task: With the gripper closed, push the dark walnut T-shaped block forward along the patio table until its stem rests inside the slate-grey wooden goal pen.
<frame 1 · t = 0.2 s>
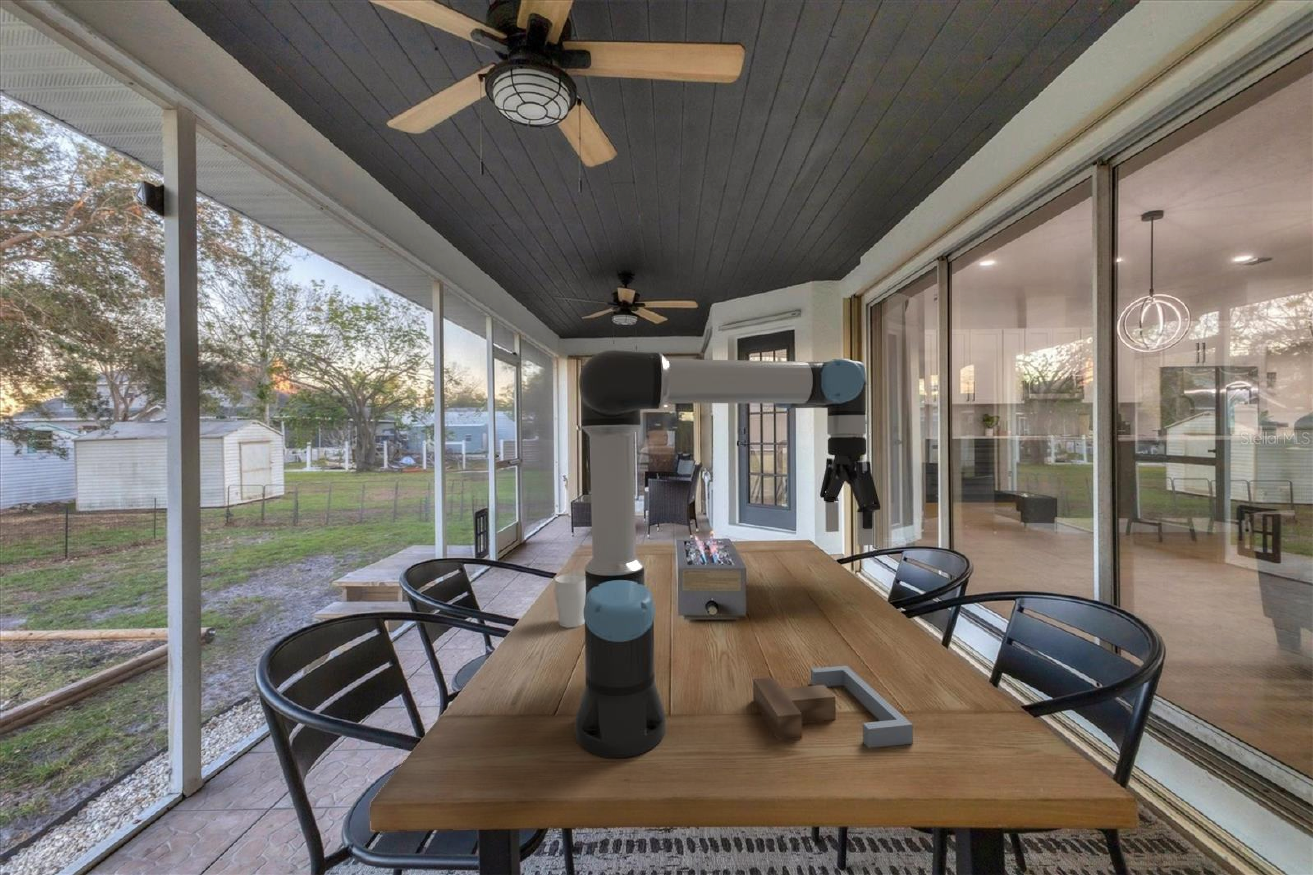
hand: (847, 537, 101), 28 cm above the table, fingers open, 13 cm apart
cup: (572, 624, 128), on the table
goal pen: (871, 708, 87), on the table
walnut T: (776, 718, 84), on the table
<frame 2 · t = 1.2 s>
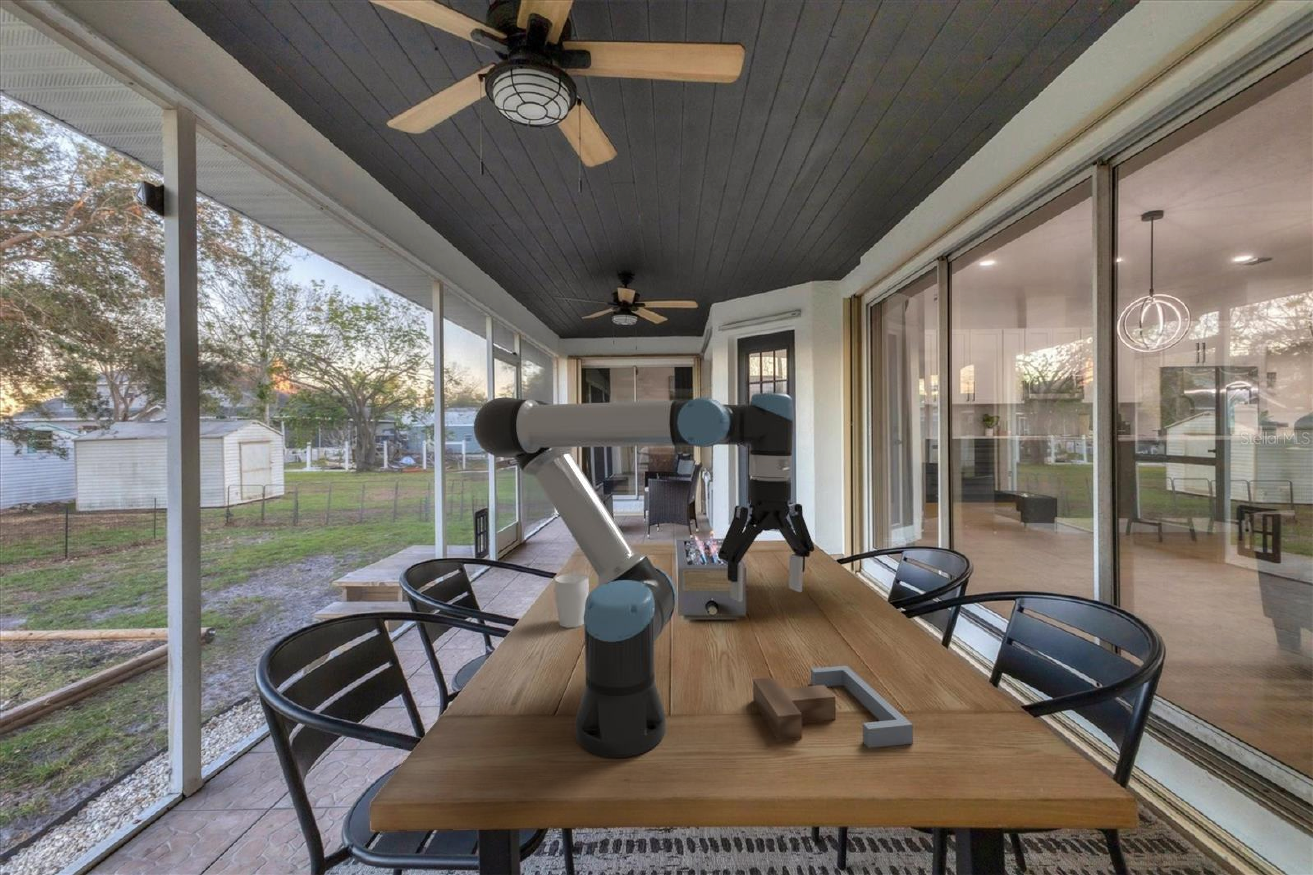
hand: (766, 594, 88), 20 cm above the table, fingers open, 13 cm apart
nothing on the table moved.
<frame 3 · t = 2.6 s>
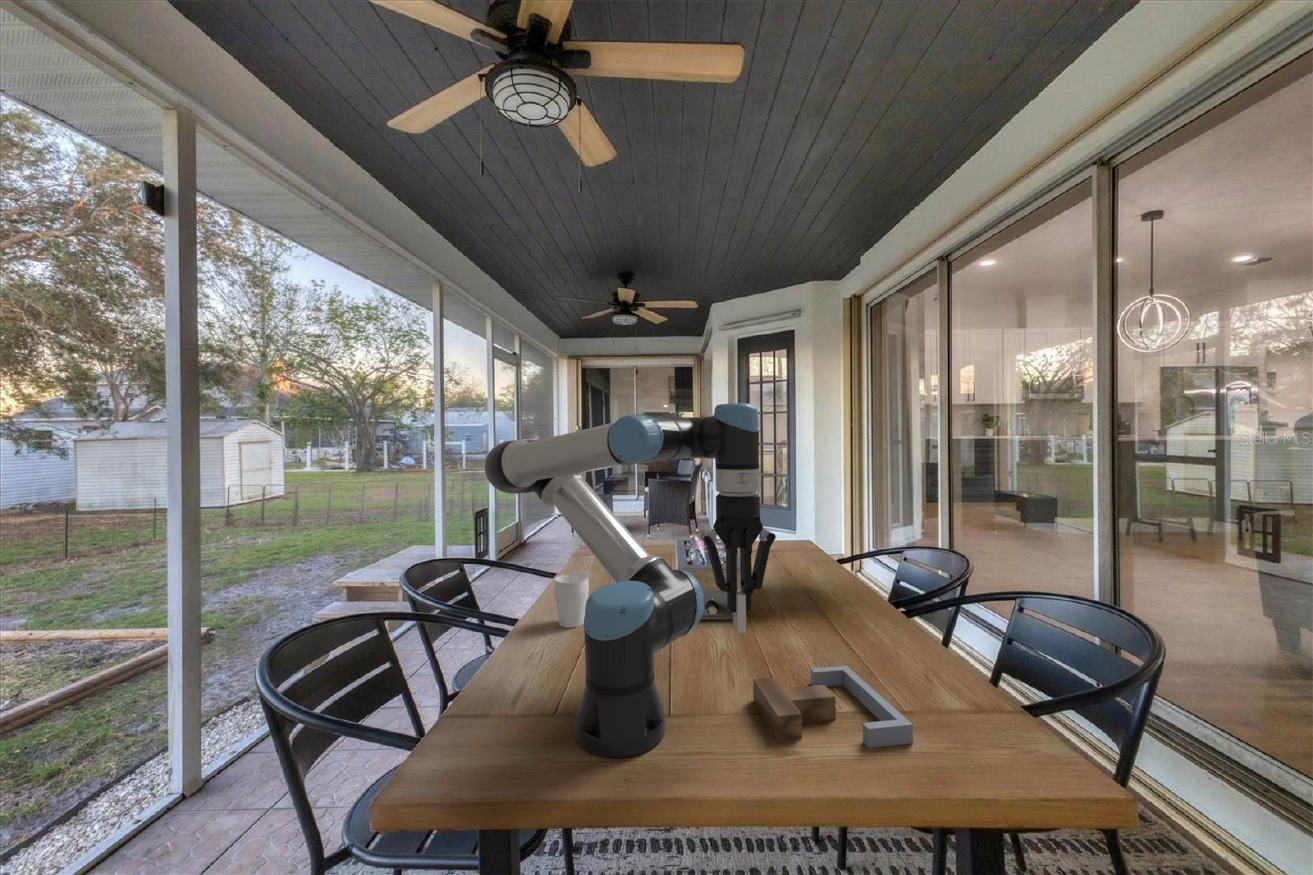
hand: (739, 630, 83), 16 cm above the table, fingers closed
nothing on the table moved.
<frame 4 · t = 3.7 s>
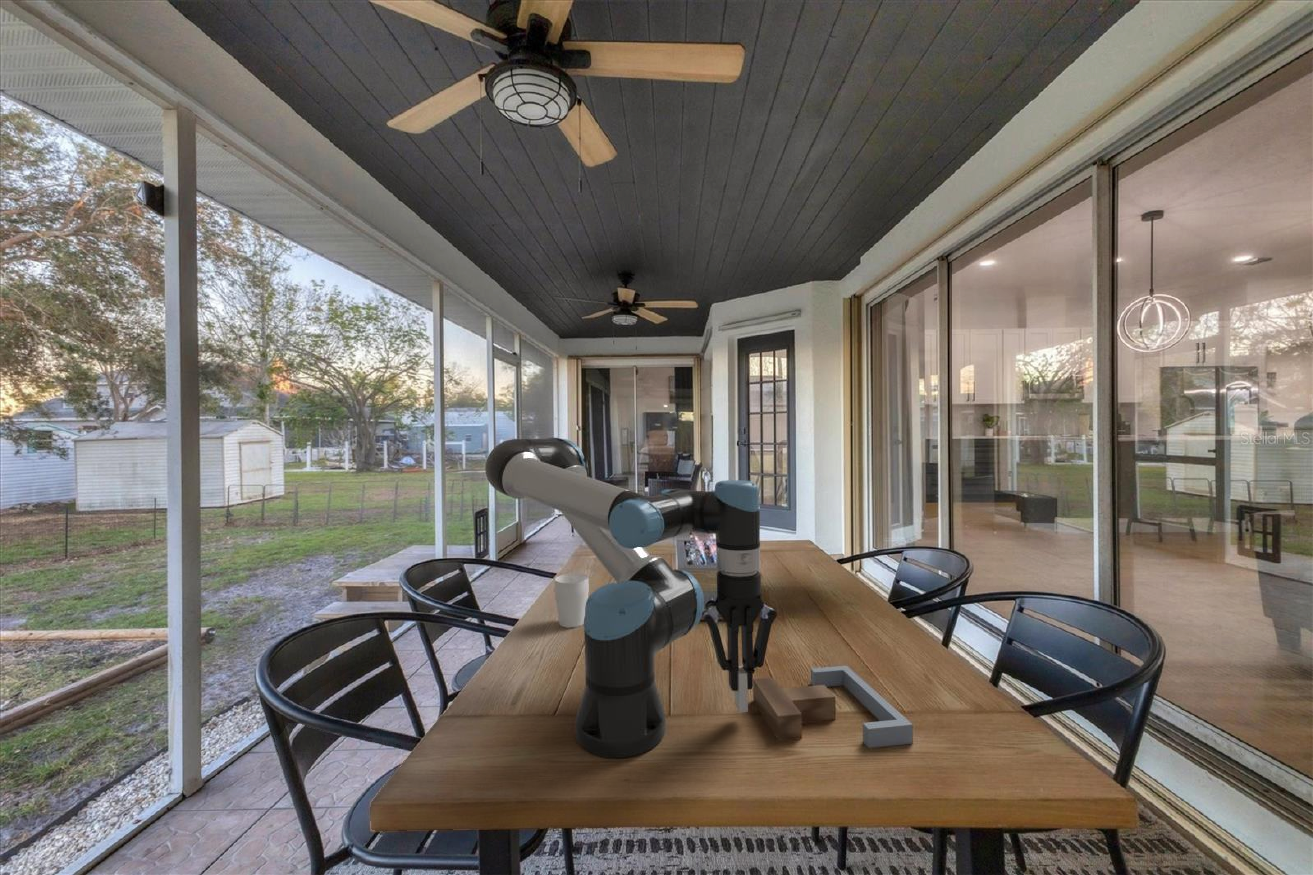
hand: (741, 707, 83), 2 cm above the table, fingers closed
nothing on the table moved.
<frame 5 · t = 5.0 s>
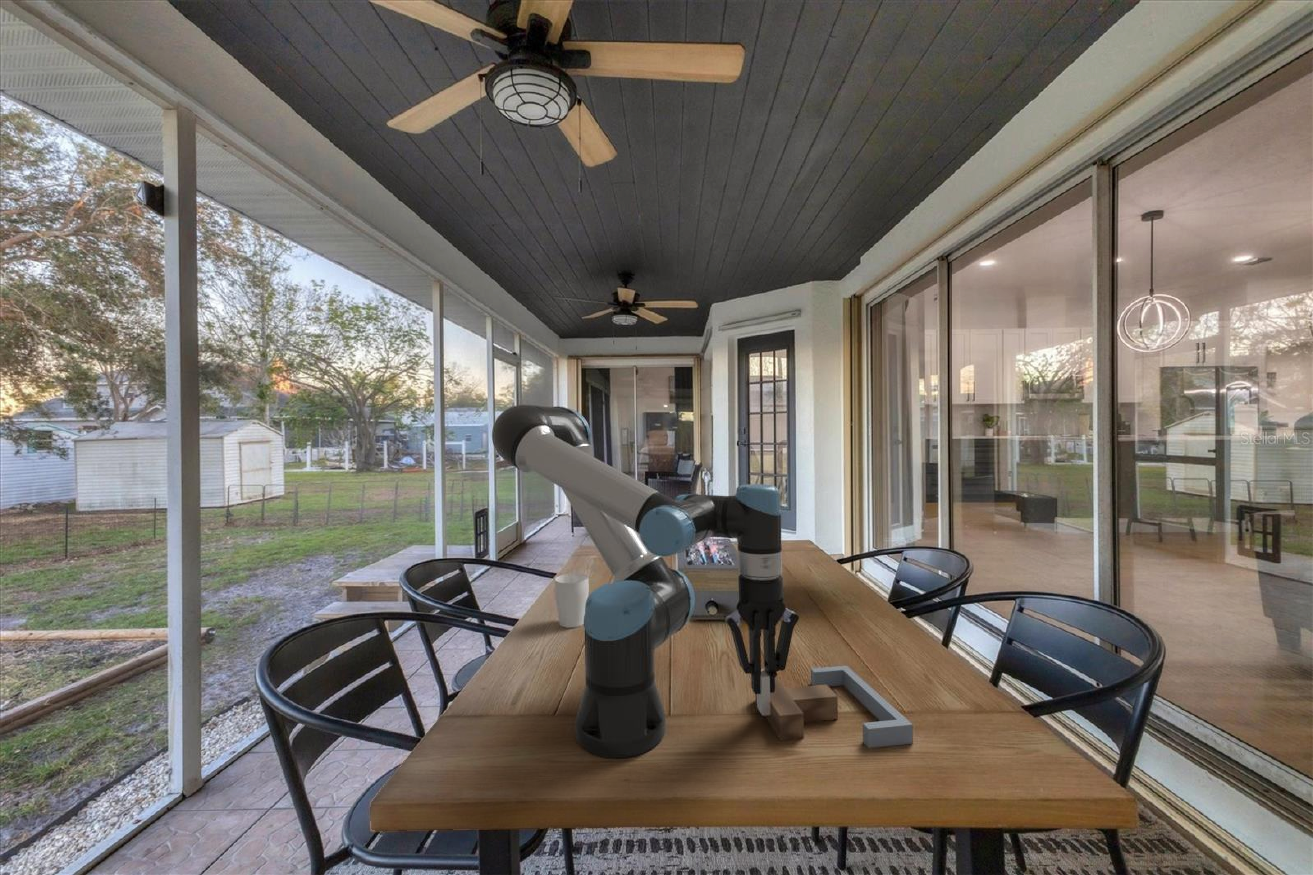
hand: (763, 710, 83), 2 cm above the table, fingers closed
walnut T: (778, 717, 84), on the table, touching gripper
everything else where it was.
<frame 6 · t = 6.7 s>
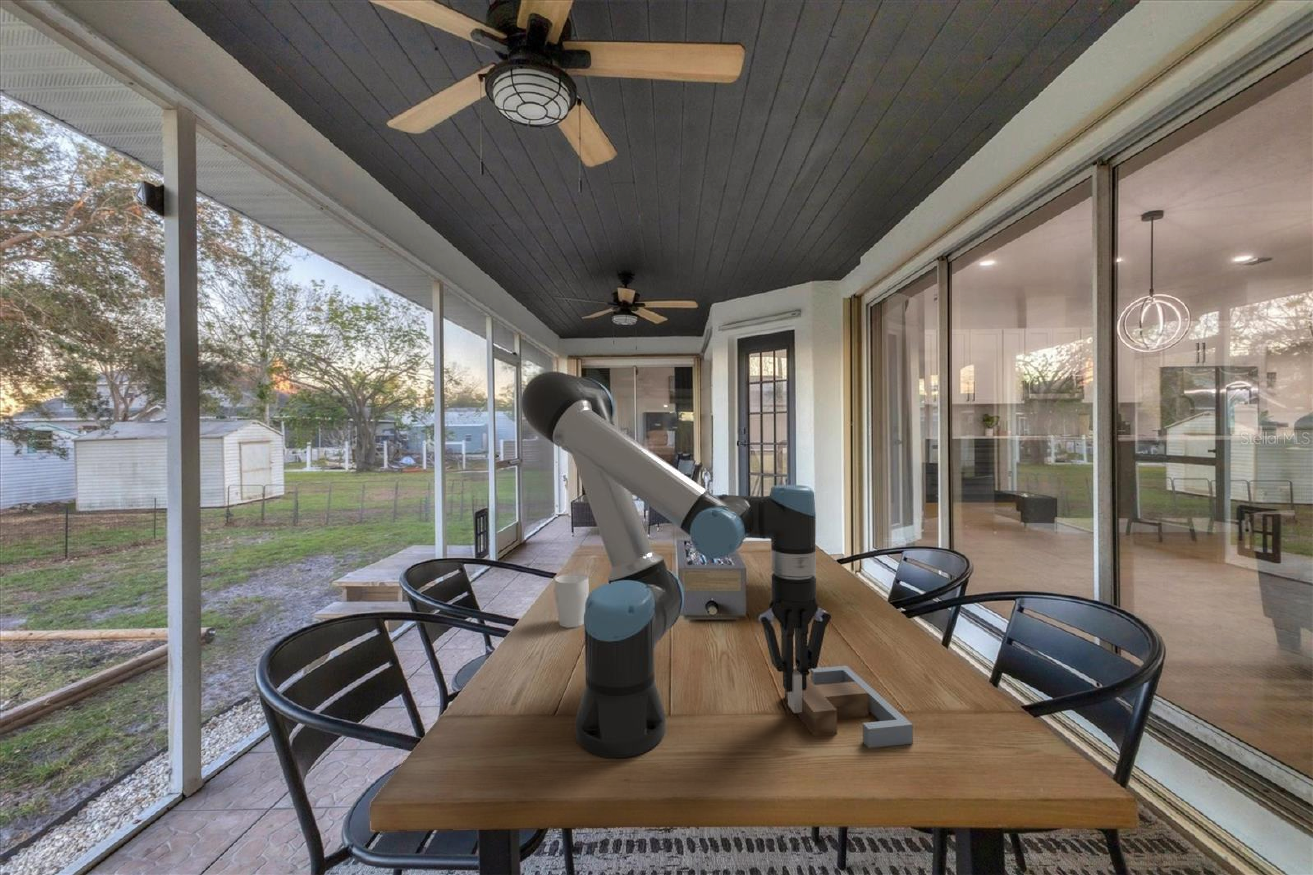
hand: (794, 708, 85), 1 cm above the table, fingers closed
walnut T: (809, 714, 85), on the table, touching gripper
everything else where it was.
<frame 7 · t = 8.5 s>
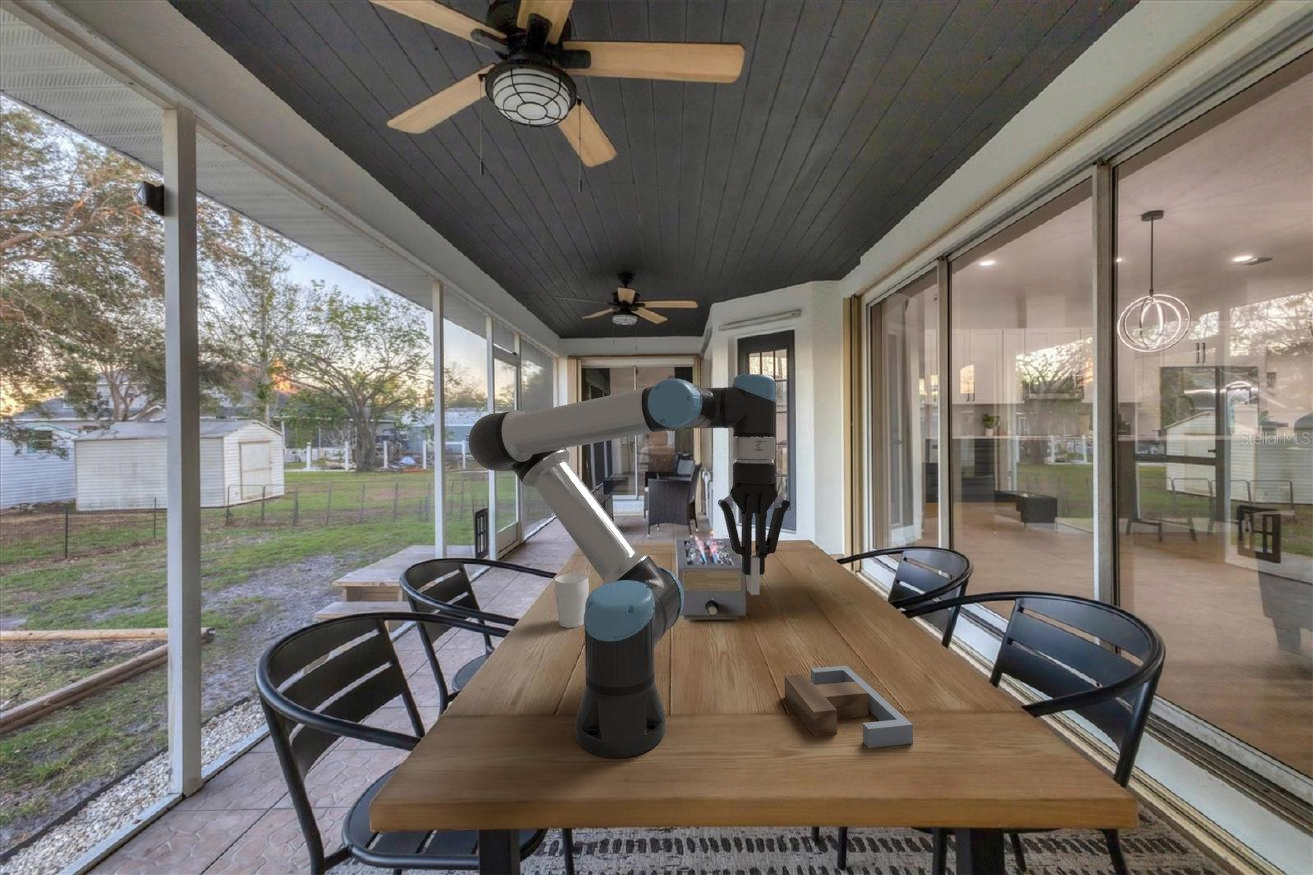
hand: (753, 592, 87), 21 cm above the table, fingers closed
walnut T: (809, 714, 85), on the table
everything else where it was.
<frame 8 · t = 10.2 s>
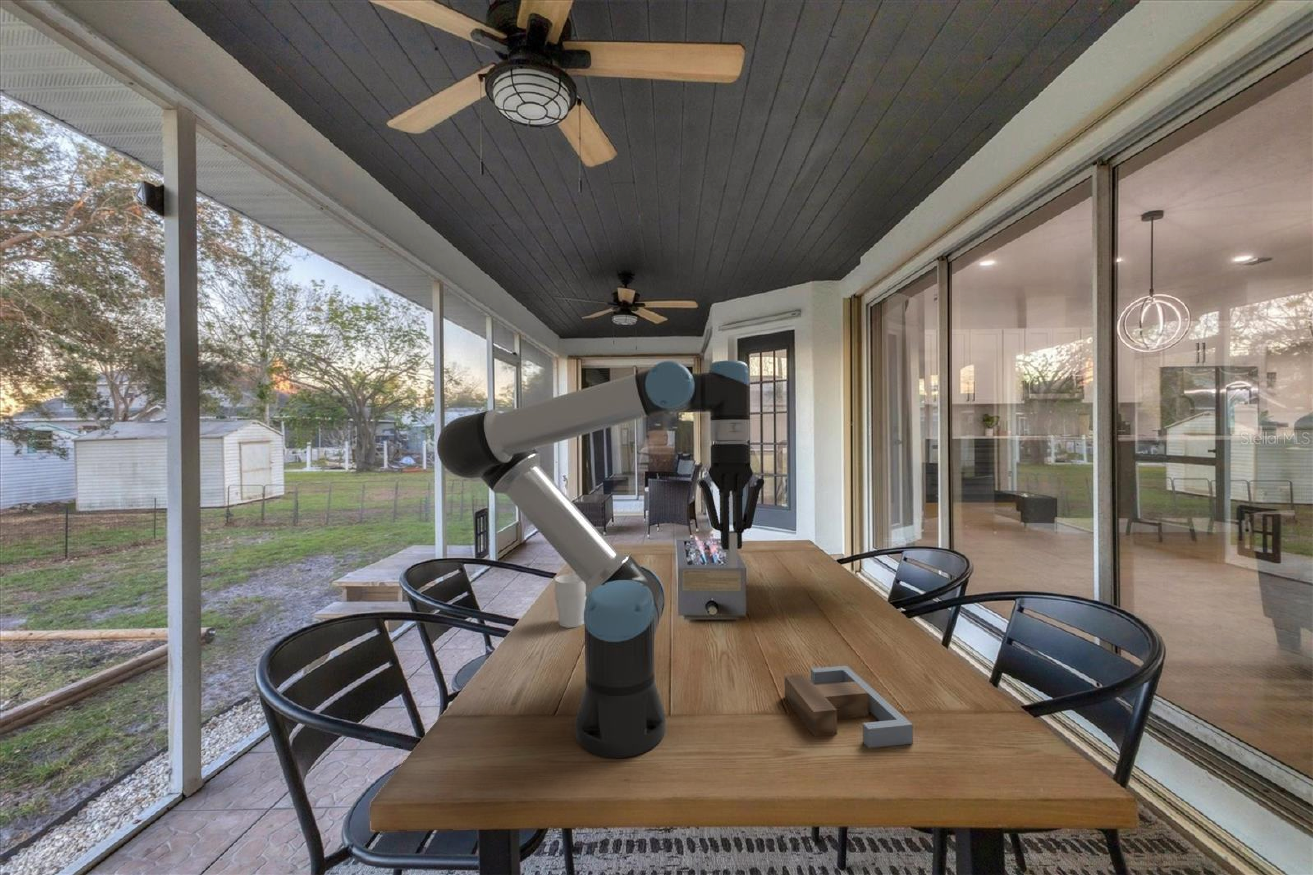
hand: (731, 565, 92), 24 cm above the table, fingers closed
nothing on the table moved.
at the end: walnut T 0.8 cm from the target spot, on the table; walnut T tilted 0°; walnut T moved 6.2 cm from its start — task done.
